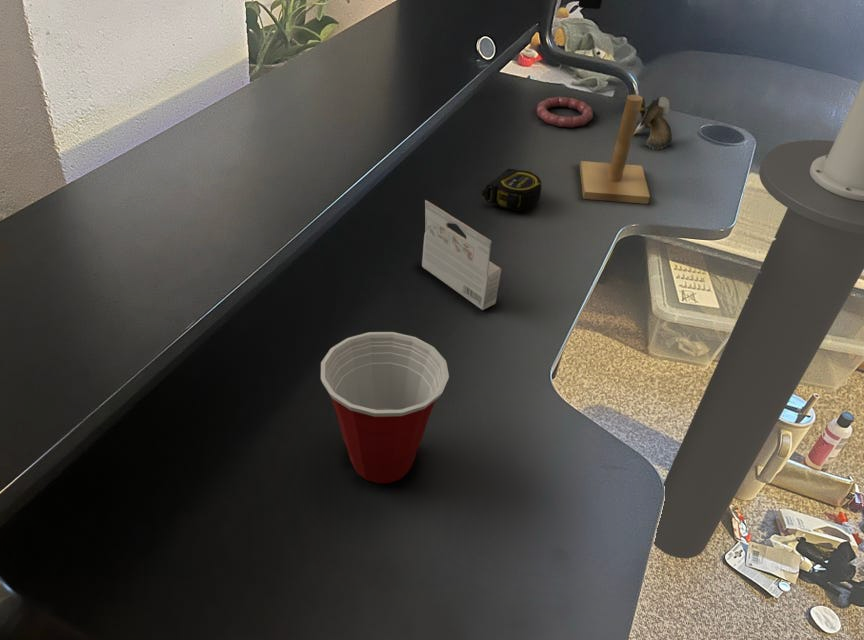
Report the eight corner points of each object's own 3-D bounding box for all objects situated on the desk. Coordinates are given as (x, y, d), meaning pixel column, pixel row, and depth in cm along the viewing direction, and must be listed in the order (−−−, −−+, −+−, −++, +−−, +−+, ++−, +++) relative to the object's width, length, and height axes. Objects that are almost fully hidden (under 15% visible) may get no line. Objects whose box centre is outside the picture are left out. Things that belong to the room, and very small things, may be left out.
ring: (589, 106, 127) (591, 97, 126) (593, 130, 120) (595, 121, 119) (535, 102, 127) (537, 93, 126) (536, 126, 121) (538, 117, 120)
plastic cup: (444, 422, 73) (454, 330, 65) (434, 512, 65) (444, 421, 57) (336, 409, 74) (333, 318, 66) (314, 497, 66) (306, 405, 58)
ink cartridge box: (434, 260, 93) (440, 192, 86) (497, 304, 87) (508, 234, 80) (419, 267, 92) (424, 198, 85) (482, 312, 86) (491, 242, 79)
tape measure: (505, 185, 107) (509, 161, 104) (547, 201, 104) (552, 177, 101) (480, 204, 103) (483, 180, 100) (523, 221, 100) (527, 197, 97)
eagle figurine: (611, 116, 121) (628, 132, 114) (642, 79, 118) (661, 92, 111) (645, 142, 124) (663, 158, 116) (676, 105, 121) (697, 120, 113)
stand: (640, 172, 110) (664, 86, 101) (647, 204, 104) (674, 114, 95) (579, 168, 111) (598, 81, 102) (583, 199, 104) (603, 109, 95)
